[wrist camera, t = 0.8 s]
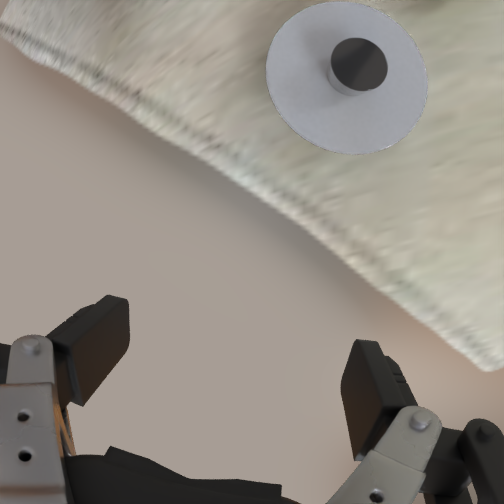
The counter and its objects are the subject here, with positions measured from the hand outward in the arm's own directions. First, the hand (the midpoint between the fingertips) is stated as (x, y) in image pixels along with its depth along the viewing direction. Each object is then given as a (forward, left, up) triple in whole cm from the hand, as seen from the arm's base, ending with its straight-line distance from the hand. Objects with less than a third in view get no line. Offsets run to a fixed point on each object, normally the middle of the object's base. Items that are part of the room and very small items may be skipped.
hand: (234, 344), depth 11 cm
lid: (-9, +8, -17) cm, 21 cm away
